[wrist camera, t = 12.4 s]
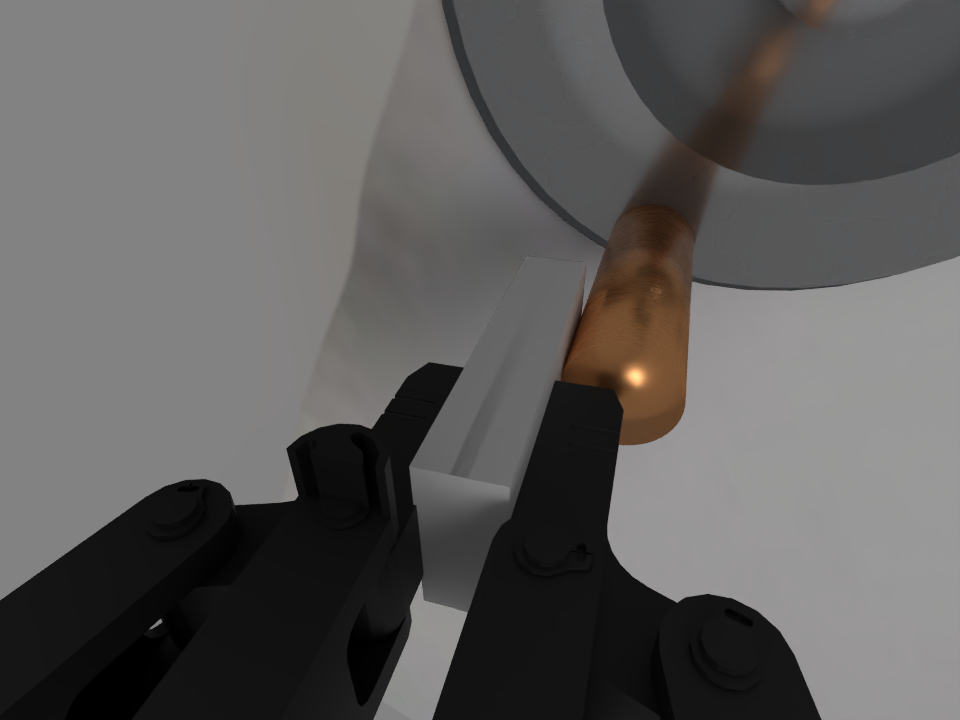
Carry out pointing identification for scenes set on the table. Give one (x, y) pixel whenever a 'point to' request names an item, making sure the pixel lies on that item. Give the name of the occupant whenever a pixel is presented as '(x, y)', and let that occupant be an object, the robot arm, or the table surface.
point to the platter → (674, 203)
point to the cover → (798, 82)
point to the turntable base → (515, 162)
